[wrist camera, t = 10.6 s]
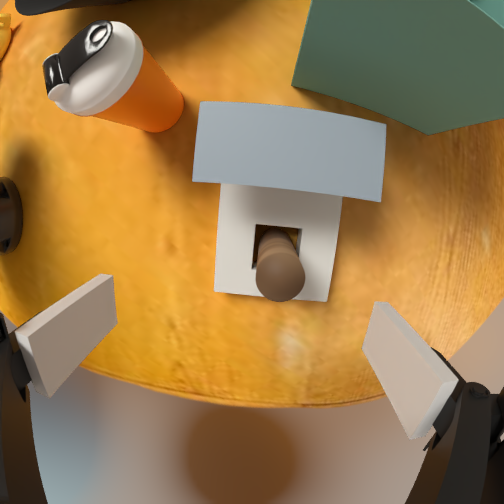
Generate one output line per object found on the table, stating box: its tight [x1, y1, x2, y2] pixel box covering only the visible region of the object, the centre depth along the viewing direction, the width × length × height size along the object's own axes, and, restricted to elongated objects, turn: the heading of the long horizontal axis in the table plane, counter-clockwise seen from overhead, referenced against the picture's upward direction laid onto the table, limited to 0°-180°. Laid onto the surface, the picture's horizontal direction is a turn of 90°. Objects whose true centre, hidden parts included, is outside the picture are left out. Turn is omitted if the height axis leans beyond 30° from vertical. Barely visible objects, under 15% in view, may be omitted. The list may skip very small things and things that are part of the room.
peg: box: [255, 228, 305, 302], centre depth 29 cm, size 4×4×14 cm
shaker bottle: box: [43, 20, 184, 133], centre depth 23 cm, size 9×9×20 cm
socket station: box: [192, 101, 386, 302], centre depth 29 cm, size 16×20×12 cm
